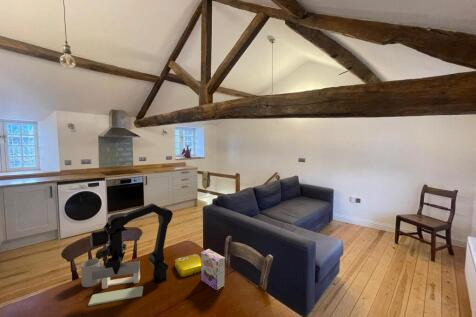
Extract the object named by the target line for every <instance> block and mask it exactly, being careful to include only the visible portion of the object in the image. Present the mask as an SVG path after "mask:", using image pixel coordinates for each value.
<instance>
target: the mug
mask: <svg viewBox="0 0 476 317" xmlns="http://www.w3.org/2000/svg"><path fill="white" fill-rule="evenodd" d="M100 266H103V262H102V260H101V259H99V260H98V259H97V258H91V259H88V260H85V261H83V262H82V263H81V264H80V268H81V269H80V273H81V274H80V275H81V276H80V277H81V286H82V287H83V288H90V287H93V286H96V285H97V284H99V283H100V281H101V279H96V280H92V271H93V269H94V267H100Z"/></svg>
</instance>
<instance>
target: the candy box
mask: <svg viewBox="0 0 476 317" xmlns="http://www.w3.org/2000/svg"><path fill="white" fill-rule="evenodd" d="M200 258H201V272H200V280H202V281H201V282H203V283H204V282H205V283H204V284H206V285H207V284H208V285H209V286H208V285H207V286H208V287H210V286H211V287H212V288H211V287H210V288H211V289H213V288H214V289H215V290H218V289H220V288H221V287H223V286H224V287H225V279H226V278H225V277H226V276H225V275H226V274H225V273H226V272H225V270H226V269H225V267H226V257H225V256H223V255H221V254H219V253H217V252H215V251H213V250H212V249H210V248H208V249H207V248H206V250H203V251H201V252H200ZM214 289H213V290H214ZM215 290H214V291H215ZM220 290H221V289H220ZM218 291H219V290H218Z"/></svg>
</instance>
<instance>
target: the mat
mask: <svg viewBox="0 0 476 317" xmlns="http://www.w3.org/2000/svg"><path fill="white" fill-rule="evenodd" d="M143 291H144V285H141V286H135V287H129V288H124V289H118V290H117V289H116V290H112V291H106V292H102V293H101V292H99V293H95V294H92V296H91V297H90V300H89V302H88V304H87V305H88V307H91V306H95V305H100V304H101V305H102V304H108V303H113V302H118V301H122V300H128V299H134V298H139V297H143V293H144V292H143Z"/></svg>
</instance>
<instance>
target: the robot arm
mask: <svg viewBox="0 0 476 317" xmlns="http://www.w3.org/2000/svg"><path fill="white" fill-rule="evenodd" d="M151 213H155V214H157V220H158V229H157V234H156V240H155V245H154V248H153V251H152V252H150V253H149V256H148V262H149V264H150V265H151V266H152V267H153V268H154V269H153V272H152V274H153V276H152V280H153V283H161V282H165V281H167V279H168V278H167V276H168V275H167V274H168V273H167V270H168V269H169V264H167V263H166V262H165V254H164V248H165V242H166V237H167V233H168V232H167V231H168V226H169V224H170V223H171V220H172V218H173V215H174V213H173V211H172V210H171V209H169V208H166V207H160V206H158V205H157V204H155V203H150V204H148V205H145V206H142V207H138V208H137V209H133V210H130V211H128V212H127V211H126V212H120V213H119V212H118V213H114V214H111V215H110V216H108V218H107V222H106V224H105V225H104V226H103V227H102V230H101V229H100V230H97V231H91V232H90V238H89V242H90V246H91V248H96V247H101V246H103V245H105V246H103V247H101V248H99V249H98V250H96V252H95V259H98V260H101V259H103V258H105V257H107V259H106V260H105V263H104V266H105V268H112V269H113V271H114V274H118V271H119V268H120V265H121V263H123V259H124V257H125V254H126V252H125V251H126V250H127V244H126V243H125V242H124V238H123V232H125V231H127V230H128V228H126V227H125V225H127V224H128V223H130V222H131V221H133V220H136V219H139V218H141V217H143V216H144V217H145V216H146V215H149V214H151ZM108 243H109V244H108ZM106 244H108V245H106Z"/></svg>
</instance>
